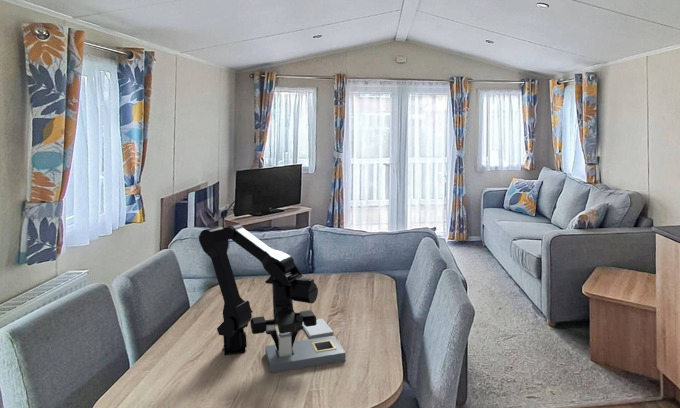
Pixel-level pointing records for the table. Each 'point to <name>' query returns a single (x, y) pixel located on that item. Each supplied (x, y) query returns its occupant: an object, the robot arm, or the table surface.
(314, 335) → the external hard drive
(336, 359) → the panel
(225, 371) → the table surface
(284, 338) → the plug
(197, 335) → the table surface
